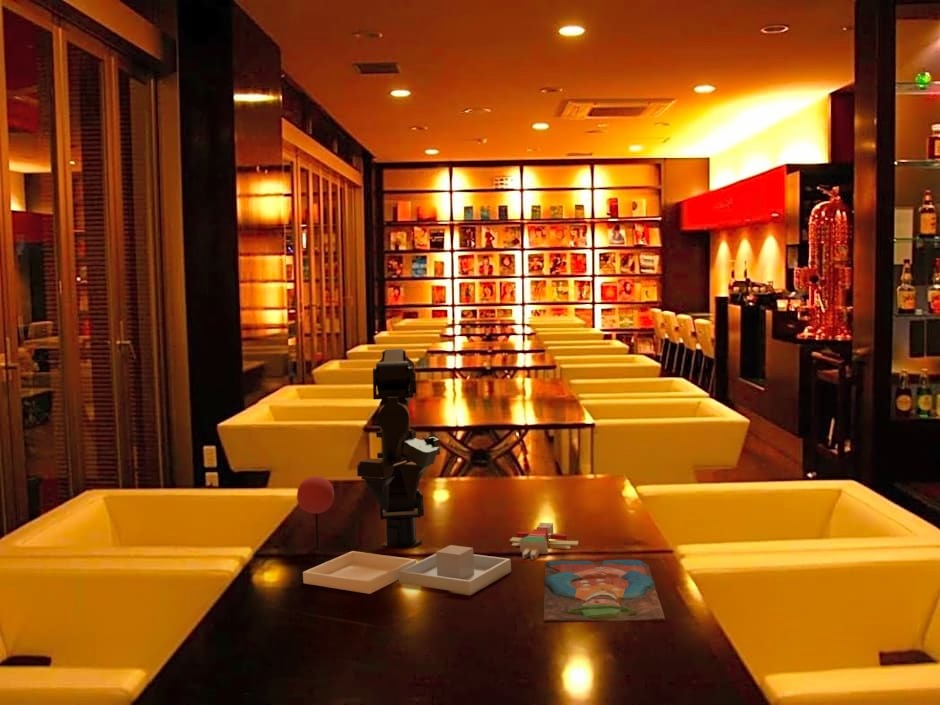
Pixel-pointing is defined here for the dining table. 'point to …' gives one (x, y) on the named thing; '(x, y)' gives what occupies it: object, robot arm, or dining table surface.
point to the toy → (540, 541)
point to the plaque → (600, 592)
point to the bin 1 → (357, 572)
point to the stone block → (455, 562)
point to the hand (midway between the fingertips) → (398, 504)
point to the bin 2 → (426, 576)
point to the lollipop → (315, 497)
